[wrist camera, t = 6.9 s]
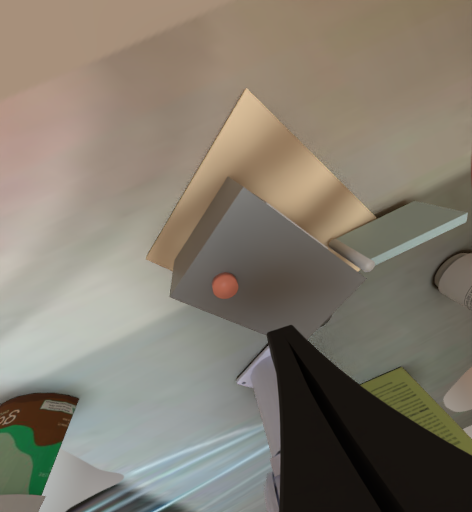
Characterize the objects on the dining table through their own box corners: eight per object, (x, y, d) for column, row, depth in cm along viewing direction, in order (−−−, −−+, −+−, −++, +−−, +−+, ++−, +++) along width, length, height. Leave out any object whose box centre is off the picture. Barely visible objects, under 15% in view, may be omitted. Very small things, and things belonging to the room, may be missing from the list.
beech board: (388, 232, 21) (393, 234, 21) (299, 326, 25) (302, 330, 25) (244, 90, 14) (246, 88, 13) (147, 255, 17) (145, 259, 17)
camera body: (337, 256, 21) (383, 289, 16) (286, 313, 23) (312, 358, 18) (228, 175, 15) (247, 186, 10) (174, 260, 17) (168, 303, 13)
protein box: (316, 402, 35) (399, 566, 21) (401, 365, 35) (539, 503, 21) (325, 428, 40) (397, 572, 26) (399, 395, 40) (509, 522, 26)
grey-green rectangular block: (330, 254, 20) (364, 278, 16) (327, 241, 19) (362, 264, 16) (417, 212, 20) (471, 227, 16) (417, 198, 19) (474, 210, 15)
